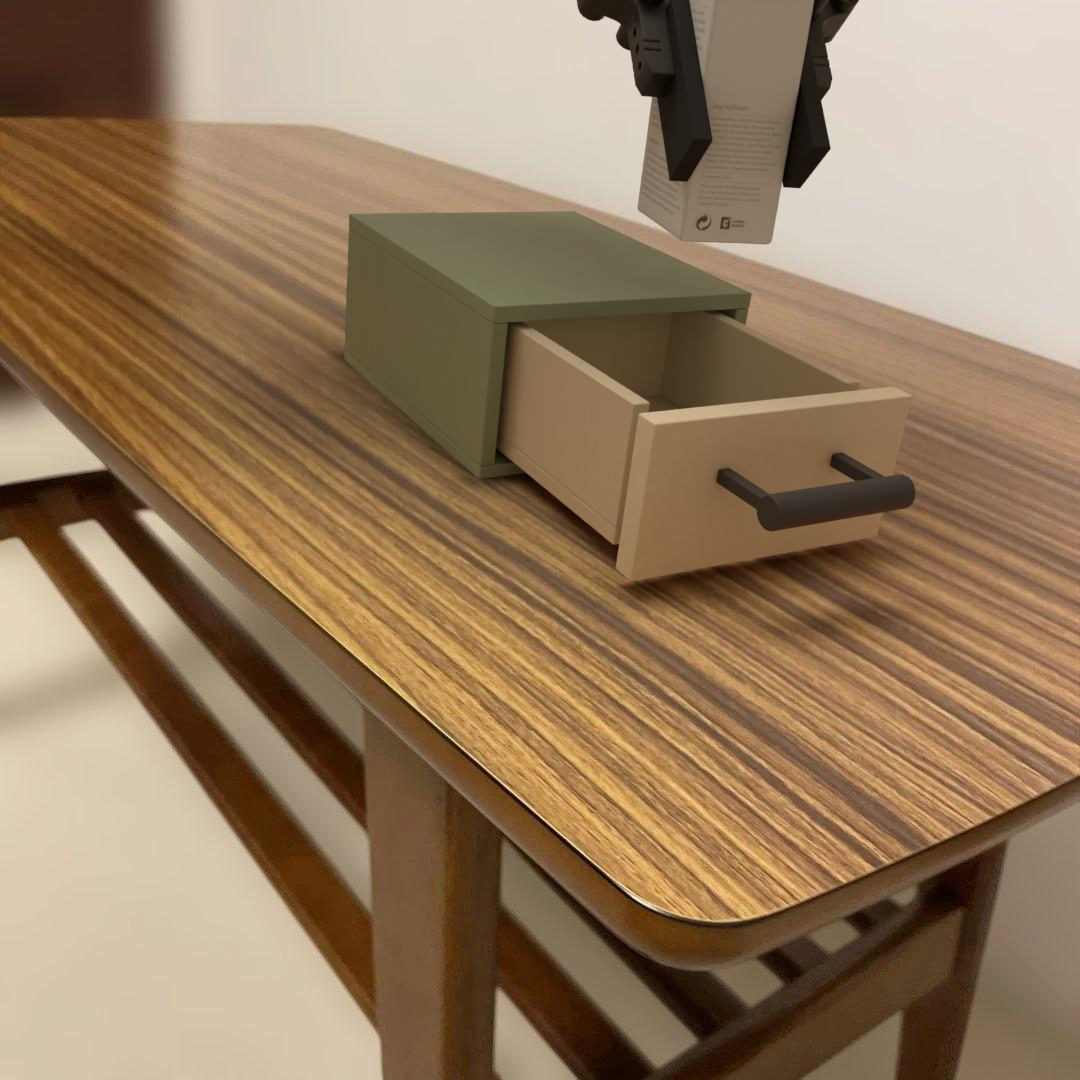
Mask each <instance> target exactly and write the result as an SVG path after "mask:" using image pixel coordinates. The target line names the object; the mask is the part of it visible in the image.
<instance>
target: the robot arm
mask: <svg viewBox="0 0 1080 1080" xmlns="http://www.w3.org/2000/svg"><path fill="white" fill-rule="evenodd" d="M859 1H860V0H814V4H813V10H812V16H811V21H810V27H809V33H808V39H807V45H806V50H805V56H804V61H803V67H802V73H801V78H800V84H799V90H798V96H797V102H796V107H795V113H794V118H793V123H792V130H791V135H790V140H789V146H788V151H787V157H786V163H785V168H784V174H783V180H782V187H783V188H784V189H785V188H787V189H801V188H802V187H803V186H804V184H806V182H807V180H808V179H809V178H810V177H811V175H812V174H813V173H814V172H815V170H816V169H817V168H818V166H819V165H820V163H821V162H822V161H823V159H824V158H825V157H826V156H827V154H828V153H829V152H830V151H831V150H832V147H831V142H830V137H829V133H828V128H827V123H826V118H825V113H824V107H823V103H822V100H823V99H824V98H825V96H826V95H827V93H829V91H830V89H831V86H832V81H833V74H832V70H831V69H832V68H831V66H830V64H831V63H830V59H829V54H828V49H827V45H826V44H829V43H831V42H832V41H833V40H834V38H835V37H836V36H837V34H838V32H839V31H840V30H841V28H842V27H843V25H844V23H845V22H846V20H847V19H848V18H849V16H850V15H851V13H852V12H853V11H854V10H855V8H856V6H857V4H858V3H859ZM576 3H577V4H576V6H577V10H578V12H579V14H580V16H582V17H583V18H584V19H585V20H588V21H591V22H599V21H601V20H604V18H608V19H610V20H613V21H615V22H616V23H618V24H620V25H619V27H618V29H617V31H616V32H615V33H616V34H615V40H616V42H617V44H618V45H619V46H620V47H621V48H622V49H624V50H626V51H629V52H630V59H631V64H632V66H631V67H632V72H633V79H634V86H635V88H636V89H637V91H638V92H639V95H640V96H641V97H646V98H647V97H648V98H652V97H657V101H658V108H659V115H660V121H661V128H662V134H663V141H664V147H665V154H666V160H667V167H668V173H669V180H670V181H682V182H687V181H688V180H689V178H690V177H691V175H692V173H693V172H694V170H695V169H696V167H697V165H698V164H699V162H700V161H701V159H702V157H703V156H704V154H705V153H706V151H707V149H708V148H709V146H710V144H711V143H712V141H713V139H712V133H711V127H710V121H709V115H708V109H707V103H706V97H705V91H704V85H703V79H702V74H701V68H700V62H699V55H698V49H697V43H696V37H695V31H694V25H693V19H692V13H691V7H690V1H689V0H670V1H669V3H668V5H667V6H666V0H576Z"/></svg>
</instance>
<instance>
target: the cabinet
mask: <svg viewBox="0 0 1080 1080" xmlns="http://www.w3.org/2000/svg"><path fill="white" fill-rule="evenodd" d="M347 242H348V243H347V244H348V245H347V267H346V268H347V271H346V295H345V296H346V299H345V301H346V302H345V323H344V324H345V325H344V356H343V358H344V359H343V360H344V361H345V362H346V363H348V364H349V365H350V366H351V367H352V368H353V369H355V370H356V372H358V373H359V374H360V375H361V376H363V378H365V380H367V381H368V382H369V383H370V384H371V385H372V386H374V388H376V389H377V390H378V391H379V392H380V393H381V394H383V395H384V396H385V397H386V398H387V399H388V400H389V401H390V402H391V403H393V404H394V405H395V406H396V407H397V408H398V409H400V410H401V411H402V412H403V413H404V414H405V415H406V416H407V417H408V418H410V420H412V421H413V422H414V423H415V424H417V425H418V426H419V427H420V428H421V429H422V430H423V431H424V432H425V433H427V435H429V436H430V438H432V439H433V440H434V441H436V443H438V444H439V445H440V446H441V447H442V448H444V450H446V451H447V452H448V453H449V454H450V455H451V456H452V457H454V458H455V459H456V460H457V461H458V462H460V464H461V465H462V466H464V468H466V469H467V470H468V471H469V472H470V473H472V474H473V475H474V476H475V477H476V478H477V479H480V480H483V479H490V478H496V477H505V476H513V475H521V474H522V475H523V474H527V473H526V472H525V471H523V470H522V469H521V468H520V467H518V466H517V465H516V464H515V463H514V462H512V461H511V460H510V459H509V458H508V457H506V456H505V455H504V454H503V453H502V452H500V451H499V450H498V449H497V448H496V442H497V432H498V421H499V411H500V401H501V390H502V380H503V369H504V359H505V349H506V338H507V328H508V323H509V322H525V321H542V320H559V319H576V318H593V317H610V316H627V315H643V314H660V313H677V312H694V311H711V310H716V311H718V312H720V313H722V314H724V315H726V316H728V317H730V318H732V319H734V320H736V321H738V322H740V323H742V324H744V325H746V324H747V319H748V314H749V309H750V305H751V300H752V295H753V294H752V292H750V291H747V290H746V289H744V288H742V287H739V286H738V285H735V284H733V283H731V282H728V281H726V280H724V279H722V278H720V277H717V276H715V275H713V274H711V273H709V272H706V271H704V270H703V269H700V268H699V267H696V266H693V265H691V264H690V263H687V262H685V261H683V260H680V259H679V258H676V257H674V256H672V255H669V254H667V253H666V252H664V251H661V250H659V249H657V248H654V247H652V246H650V245H648V244H646V243H644V242H641V241H639V240H638V239H635V238H633V237H631V236H628V235H626V234H624V233H622V232H620V231H618V230H616V229H613V228H611V227H609V226H608V225H604V224H603V223H600V222H598V221H596V220H594V219H592V218H590V217H587V216H585V215H583V214H581V213H579V212H576V211H573V210H567V211H565V210H564V211H563V210H561V211H557V210H556V211H483V212H482V211H479V212H478V211H476V212H475V211H474V212H473V211H472V212H470V211H469V212H466V211H465V212H389V213H387V212H384V213H383V212H381V213H379V212H378V213H376V212H375V213H373V212H372V213H349V214H348V241H347ZM746 326H747V325H746Z"/></svg>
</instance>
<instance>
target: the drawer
mask: <svg viewBox="0 0 1080 1080" xmlns="http://www.w3.org/2000/svg"><path fill="white" fill-rule="evenodd" d="M859 385H860V381H859V380H858V379H855V378H853V377H851V376H849V375H847V374H845V373H843V372H841V371H839V370H837V369H835V368H833V367H831V366H829V365H827V364H825V363H822V362H821V361H819V360H817V359H815V358H813V357H810V356H809V355H807V354H805V353H803V352H800V351H799V350H797V349H794V348H792V347H791V346H788V345H786V344H785V343H784V342H781V341H779V340H777V339H774V338H772V337H770V336H768V335H766V334H765V333H763V332H761V331H758V330H756V329H754V328H752V327H750V326H748V325H744V324H742V323H740V322H738V321H736V320H734V319H732V318H730V317H728V316H726V315H724V314H722V313H720V312H718V311H716V310H711V311H694V312H677V313H660V314H643V315H627V316H610V317H593V318H576V319H559V320H542V321H525V322H509V323H508V328H507V338H506V349H505V359H504V369H503V380H502V390H501V401H500V411H499V421H498V432H497V442H496V448H497V449H498V450H499V451H500V452H502V453H503V454H504V455H505V456H506V457H508V458H509V459H510V460H511V461H512V462H514V463H515V464H516V465H517V466H518V467H520V468H521V469H522V470H523V471H525V472H526V473H525V474H526V475H528V476H529V477H530V478H532V479H533V480H534V481H535V482H536V483H537V484H539V485H540V486H541V487H542V488H544V489H545V490H546V491H547V492H548V493H550V494H551V495H552V496H553V497H555V498H556V499H557V500H558V501H559V502H561V503H562V504H563V505H564V506H566V507H567V508H568V509H569V510H570V511H571V512H572V513H574V514H575V515H576V516H578V517H579V518H580V519H581V520H582V521H584V522H585V524H588V526H589V527H591V528H592V529H593V530H595V531H596V532H597V533H598V534H599V535H601V536H602V537H603V538H604V539H605V540H606V541H608V543H610V544H611V545H613V546H615V545H618V550H617V556H616V564H615V569H616V571H617V572H619V573H620V574H621V575H623V576H624V578H626V579H627V580H628V581H630V582H637V581H641V580H647V579H653V578H658V577H663V576H668V575H674V574H680V573H685V572H686V573H687V572H691V571H696V570H702V569H707V568H714V567H718V566H723V565H730V564H734V563H739V562H745V561H750V560H755V559H756V560H758V559H761V558H767V557H774V556H778V555H785V554H788V553H795V552H799V551H806V550H810V549H816V548H821V547H827V546H833V545H838V544H844V543H849V542H854V541H855V542H856V541H860V540H864V539H871V538H875V537H877V536H878V533H879V530H880V526H881V522H882V518H883V513H887V512H888V513H889V512H894V511H898V510H899V511H900V510H904V509H908V508H910V507H911V506H912V505H913V503H914V502H915V500H916V493H917V492H916V486H915V484H914V482H913V480H912V479H911V477H909V476H907V475H905V474H902V473H898V474H894V470H895V467H896V463H897V460H898V456H899V455H898V454H899V451H900V447H901V444H902V439H903V435H904V431H905V427H906V425H907V424H906V423H907V419H908V416H909V411H910V407H911V404H912V400H913V395H912V394H910V393H908V392H906V391H904V390H902V389H900V388H898V387H896V386H886V387H875V388H867V389H859Z"/></svg>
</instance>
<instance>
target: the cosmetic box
mask: <svg viewBox="0 0 1080 1080" xmlns="http://www.w3.org/2000/svg"><path fill="white" fill-rule="evenodd" d="M669 1H670V0H666V6H667V5H668V3H669ZM689 1H690V7H691V13H692V19H693V25H694V31H695V37H696V43H697V49H698V55H699V62H700V68H701V74H702V79H703V85H704V91H705V97H706V103H707V109H708V115H709V121H710V127H711V133H712V139H713V141H712V143H711V144H710V146H709V148H708V149H707V151H706V153H705V154H704V156H703V157H702V159H701V161H700V162H699V164H698V165H697V167H696V169H695V170H694V172H693V173H692V175H691V177H690V178H689V180H688V181H687V182H682V181H670V180H669V173H668V167H667V160H666V154H665V147H664V141H663V134H662V128H661V121H660V115H659V108H658V101H657V97H651V101H650V108H649V115H648V116H649V117H648V125H647V132H646V139H645V148H644V156H643V161H642V162H643V163H642V169H641V170H642V171H641V177H640V185H639V193H638V199H637V211H638V212H640V213H641V214H643V215H644V216H646V217H647V218H648V219H650V220H651V221H653V222H654V223H655V224H657V225H658V226H660V227H661V228H663V229H664V230H665V231H667V232H668V233H670V234H671V235H672V236H674V237H675V238H677V240H679V241H682V242H689V243H690V242H691V243H719V244H744V245H745V244H747V245H769V244H771V243H772V242H773V237H774V231H775V225H776V220H777V214H778V208H779V202H780V196H781V191H782V187H783V183H782V180H783V174H784V168H785V163H786V157H787V151H788V146H789V140H790V135H791V130H792V123H793V118H794V113H795V107H796V102H797V96H798V90H799V84H800V78H801V73H802V67H803V61H804V56H805V50H806V45H807V39H808V33H809V27H810V21H811V16H812V10H813V4H814V0H689Z"/></svg>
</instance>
